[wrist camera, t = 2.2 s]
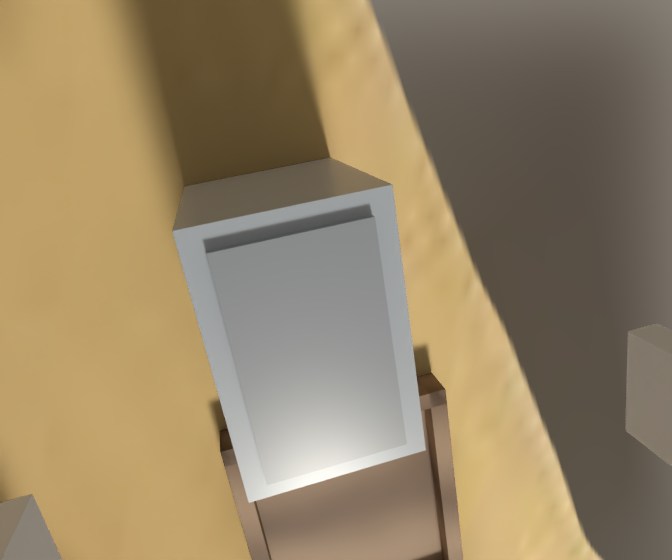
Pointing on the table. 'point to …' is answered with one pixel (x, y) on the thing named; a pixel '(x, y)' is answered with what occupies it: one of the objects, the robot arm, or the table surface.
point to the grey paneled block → (303, 320)
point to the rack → (363, 504)
